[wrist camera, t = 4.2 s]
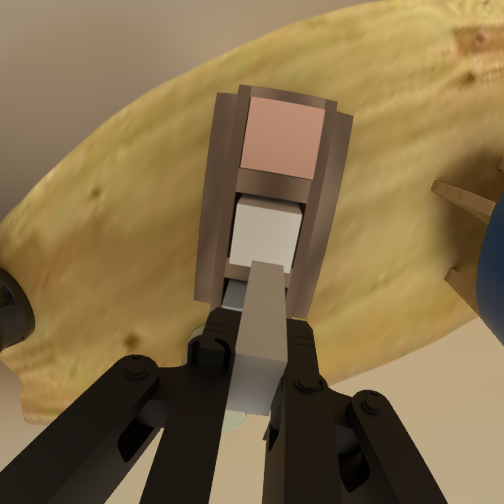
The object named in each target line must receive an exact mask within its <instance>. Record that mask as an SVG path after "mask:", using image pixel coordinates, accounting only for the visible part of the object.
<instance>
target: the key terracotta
mask: <svg viewBox="0 0 504 504" xmlns="http://www.w3.org/2000/svg"><path fill="white" fill-rule="evenodd" d="M324 115H325V110H324V109H320V108H315V107H310V106H305V105H300V104H295V103H289V102H284V101H278V100H271V99H265V98H258V97H251V102H250V108H249V114H248V121H247V127H246V133H245V140H244V146H243V153H242V159H241V166H240V167H242V168H248V169H255V170H261V171H267V172H273V173H279V174H284V175H290V176H295V177H301V178H306V179H311V180H313V176H314V171H315V166H316V160H317V155H318V149H319V144H320V138H321V132H322V126H323V121H324Z"/></svg>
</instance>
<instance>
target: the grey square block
mask: <svg viewBox="0 0 504 504" xmlns="http://www.w3.org/2000/svg"><path fill="white" fill-rule="evenodd" d="M247 285H248V281H244V280H238V279H232V278H230V281H229V284H228V287H227V290H226V294H225V297H224V300H223V303H222V308H226V309H231V310H237V311H243V306H244V300H245V295H246V290H247Z"/></svg>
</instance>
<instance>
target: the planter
mask: <svg viewBox="0 0 504 504" xmlns="http://www.w3.org/2000/svg"><path fill="white" fill-rule="evenodd" d="M498 169H499V170H500V171H501V172H502V173H504V157H501V160H500V163H499V165H498ZM431 190H432V191H433V192H435V193H436V194H438V195H439V196H441V197H443V198H445V199H447V200H449V201H451V202H453V203H454V204H456V205H458V206H460V207H461V208H463V209H465V210H466V211H468V212H470V213H471V214H473V215H474V216H476V217H477V218H479V219H480V220H482V221H483V222H485V223H486V224H487V225H488V228H487V231H486V234H485V237H484V240H483V244H482V249H481V253H480V257H479V263H478V269H477V271H476V272H472V273H461V272H457V271H456V270H454V269H453V268H451V269H450V270H449V272H448V274H447V276H446V277H445V279H444V280H445V281H446V282H447V283H448V284H449V285H450V286H451V287H452V288H453V289H454V290H455V291H456V292H457V293H458V294H459V295H460V296H461V297H462V298H463V299H464V300H465V301H466V302H467V304H468V305H469V306H470V307H471V308H472V309H473V310H474V311H475V312H476V313H477V315H478V316H479V317H480V318H481V319H482V320H483V321H484V323H485V324H486V325H487V327H488V328H489V329H490V330H491V331H492V333H493V334H494V335H495V336H496V337H497V339H498V340H499V341H500V342H501V343H502V345H503V346H504V192H503V193H502V195H501V197H500V199H499V201H498V203H497V204H496V203H495V202H493V201H491V200H488V199H486V198H483V197H481V196H478V195H476V194H473V193H471V192H468V191H465V190H463V189H460V188H457V187H454V186H452V185H449V184H446V183H443V182H440V181H437V180H435V182H434V184H433V186H432V189H431Z"/></svg>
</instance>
